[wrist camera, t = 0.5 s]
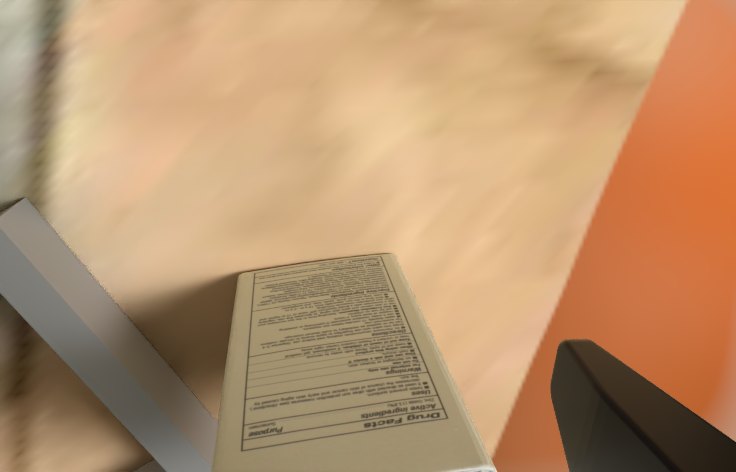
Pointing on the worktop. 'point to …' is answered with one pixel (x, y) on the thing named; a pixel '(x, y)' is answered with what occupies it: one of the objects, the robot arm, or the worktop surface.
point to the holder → (101, 344)
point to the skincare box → (339, 376)
